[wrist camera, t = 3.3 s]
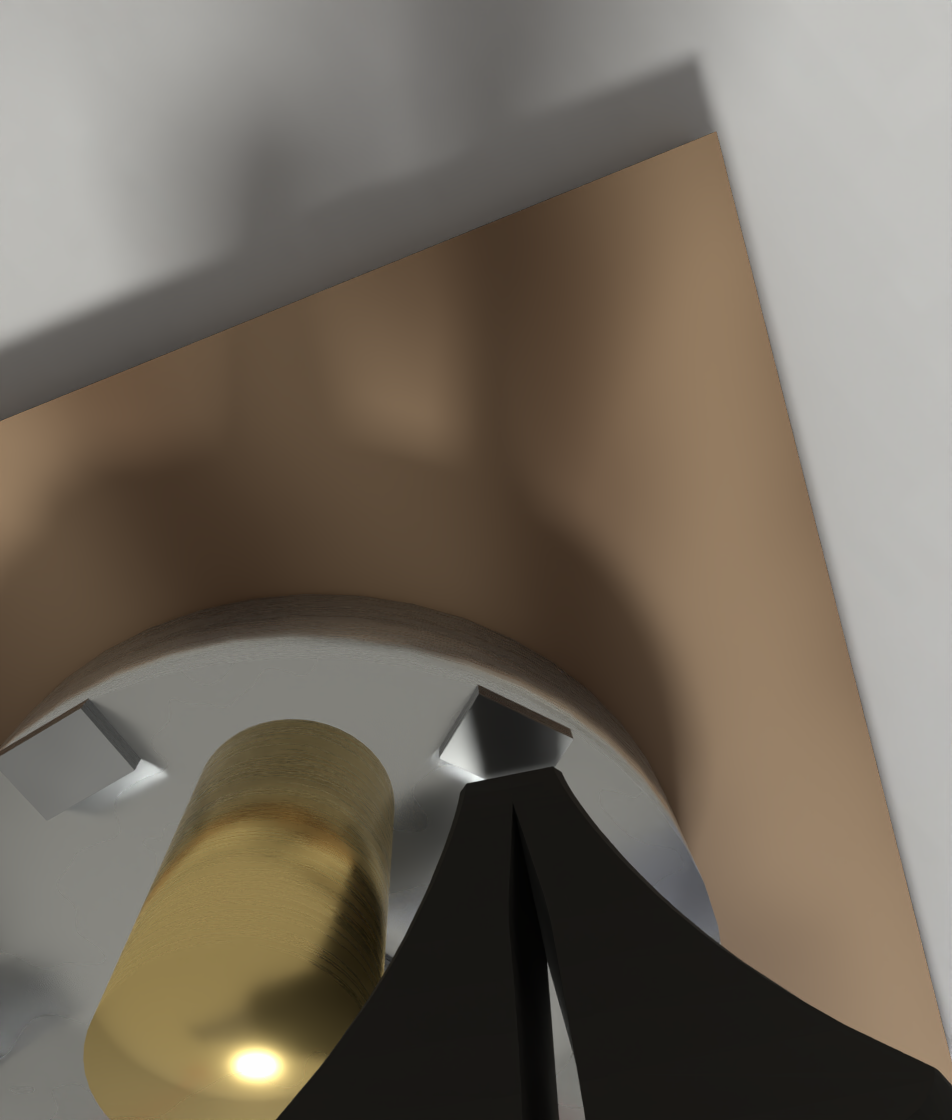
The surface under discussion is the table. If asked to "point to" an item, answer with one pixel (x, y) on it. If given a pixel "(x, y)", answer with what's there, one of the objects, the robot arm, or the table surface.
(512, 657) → the round metal turntable
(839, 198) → the table surface
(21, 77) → the table surface
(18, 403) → the table surface
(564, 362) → the base plate
